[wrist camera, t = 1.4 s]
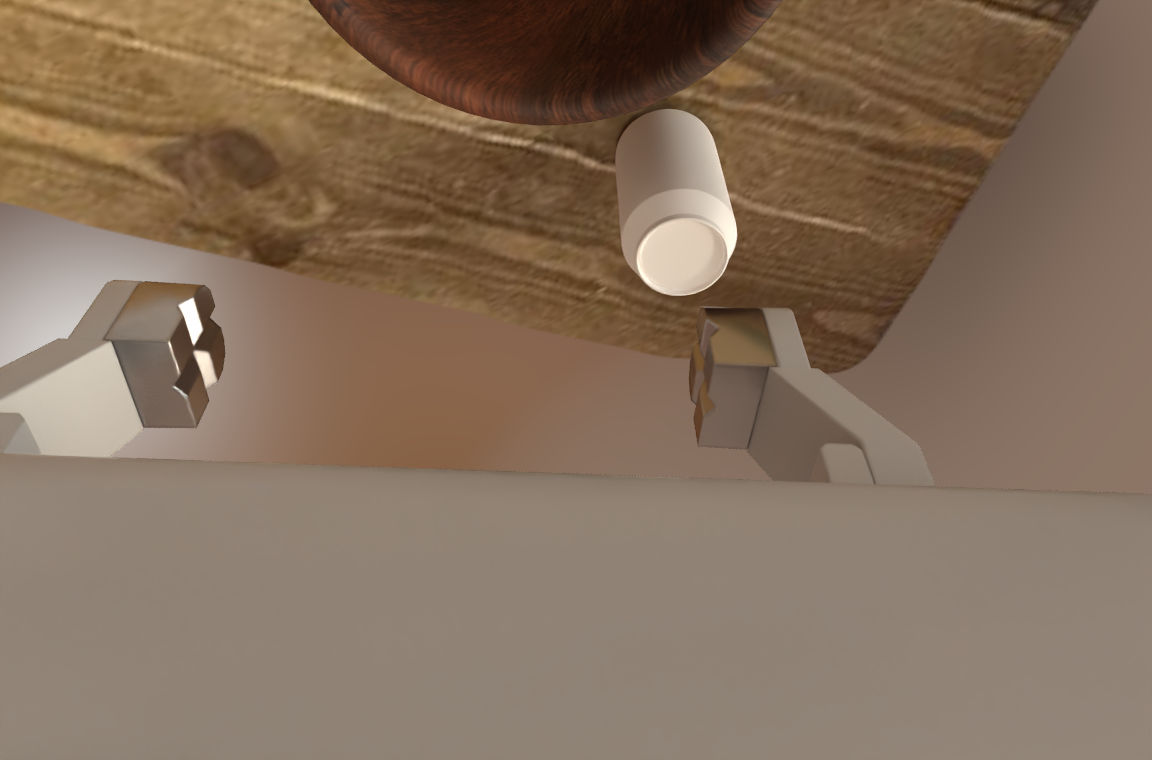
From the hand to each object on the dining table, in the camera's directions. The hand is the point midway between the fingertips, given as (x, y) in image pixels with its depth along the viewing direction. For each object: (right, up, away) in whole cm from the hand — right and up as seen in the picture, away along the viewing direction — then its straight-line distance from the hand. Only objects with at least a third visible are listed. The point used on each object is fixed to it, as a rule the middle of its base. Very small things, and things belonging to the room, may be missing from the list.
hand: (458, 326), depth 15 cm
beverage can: (+8, +14, +41) cm, 43 cm away
